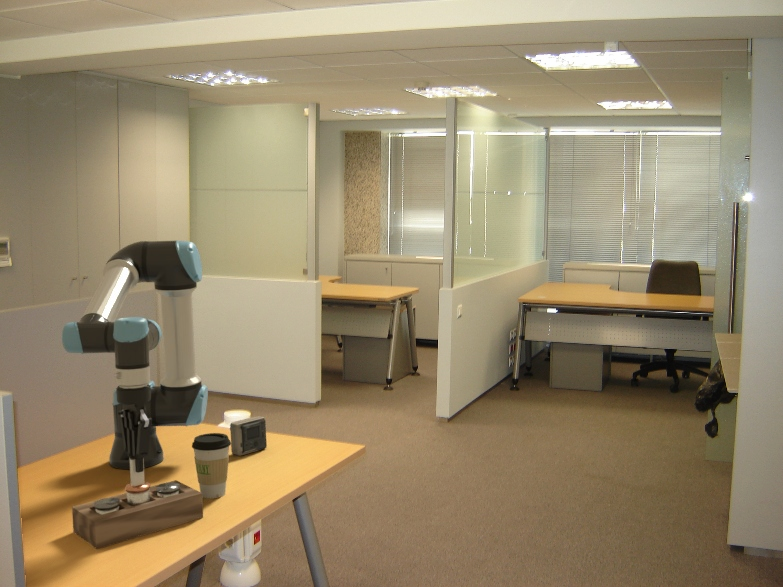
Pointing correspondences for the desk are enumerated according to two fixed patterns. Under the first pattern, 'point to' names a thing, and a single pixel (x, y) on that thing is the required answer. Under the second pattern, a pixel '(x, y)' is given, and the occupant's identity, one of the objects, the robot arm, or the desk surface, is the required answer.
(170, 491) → the ball
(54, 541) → the desk surface
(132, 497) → the terracotta plunger
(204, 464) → the coffee cup
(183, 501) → the wooden jar holder
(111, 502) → the grey plunger front
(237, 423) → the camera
